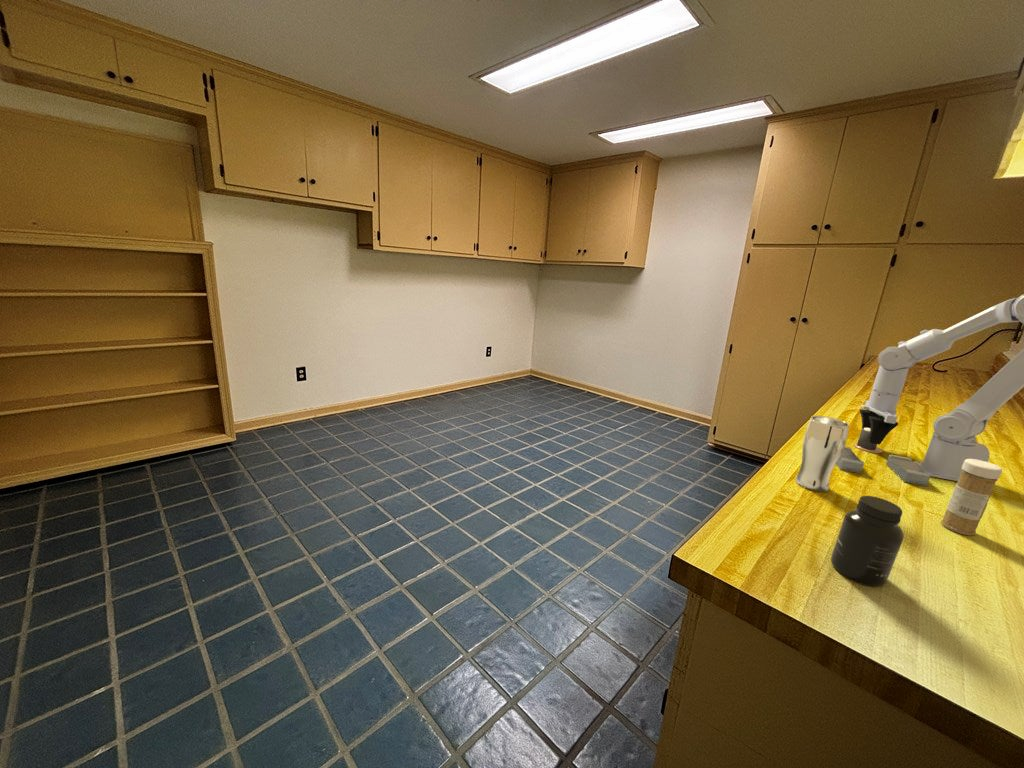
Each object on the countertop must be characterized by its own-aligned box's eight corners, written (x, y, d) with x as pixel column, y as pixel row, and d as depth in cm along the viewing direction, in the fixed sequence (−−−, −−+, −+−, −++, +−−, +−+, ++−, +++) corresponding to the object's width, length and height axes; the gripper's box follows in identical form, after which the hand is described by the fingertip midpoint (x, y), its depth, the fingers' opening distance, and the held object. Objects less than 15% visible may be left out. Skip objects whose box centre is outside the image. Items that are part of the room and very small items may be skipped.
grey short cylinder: (872, 445, 113) (877, 428, 112) (878, 451, 109) (884, 433, 108) (854, 442, 114) (859, 426, 113) (859, 448, 111) (865, 430, 109)
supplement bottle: (818, 556, 66) (839, 491, 63) (857, 556, 67) (879, 491, 63) (856, 589, 59) (881, 517, 56) (899, 588, 60) (926, 517, 57)
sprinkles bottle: (977, 531, 76) (1005, 466, 72) (971, 539, 73) (1000, 471, 69) (942, 518, 79) (968, 455, 76) (936, 525, 77) (962, 460, 73)
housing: (906, 468, 101) (909, 458, 100) (926, 486, 92) (930, 475, 91) (828, 453, 107) (831, 443, 106) (840, 469, 98) (843, 459, 97)
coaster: (877, 446, 113) (877, 445, 113) (886, 455, 108) (886, 453, 108) (850, 442, 116) (851, 441, 115) (858, 450, 110) (858, 448, 110)
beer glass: (826, 482, 91) (845, 419, 87) (834, 496, 85) (855, 429, 81) (790, 474, 94) (806, 412, 90) (795, 487, 88) (813, 422, 84)
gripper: (857, 383, 115) (844, 428, 119) (878, 396, 102) (862, 446, 106) (889, 387, 113) (874, 433, 116) (914, 401, 100) (896, 452, 104)
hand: (870, 439), depth 111 cm, fingers open, 5 cm apart
